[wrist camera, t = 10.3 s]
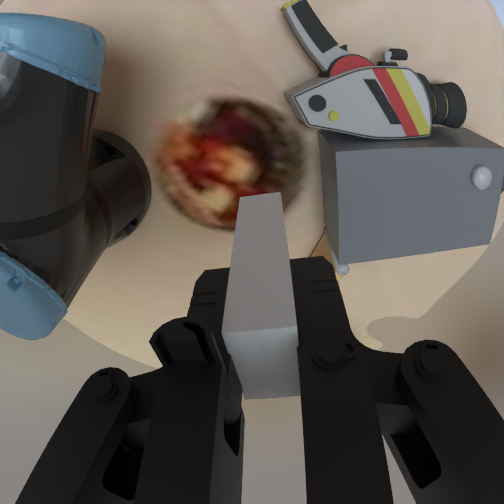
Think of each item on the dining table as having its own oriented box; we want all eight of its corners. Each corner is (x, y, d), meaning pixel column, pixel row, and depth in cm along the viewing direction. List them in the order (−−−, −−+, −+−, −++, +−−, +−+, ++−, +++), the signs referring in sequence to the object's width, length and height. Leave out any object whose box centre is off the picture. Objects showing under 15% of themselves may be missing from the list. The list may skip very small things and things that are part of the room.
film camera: (429, 14, 24) (437, 126, 32) (270, 5, 25) (288, 133, 33) (462, 8, 18) (470, 140, 26) (276, -11, 19) (298, 146, 27)
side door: (323, 222, 39) (336, 261, 32) (336, 228, 39) (351, 267, 32) (272, 307, 47) (273, 350, 40) (284, 311, 48) (287, 354, 41)
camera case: (324, 224, 39) (340, 271, 31) (317, 130, 33) (338, 155, 25) (469, 209, 37) (507, 247, 29) (478, 128, 30) (526, 153, 22)
